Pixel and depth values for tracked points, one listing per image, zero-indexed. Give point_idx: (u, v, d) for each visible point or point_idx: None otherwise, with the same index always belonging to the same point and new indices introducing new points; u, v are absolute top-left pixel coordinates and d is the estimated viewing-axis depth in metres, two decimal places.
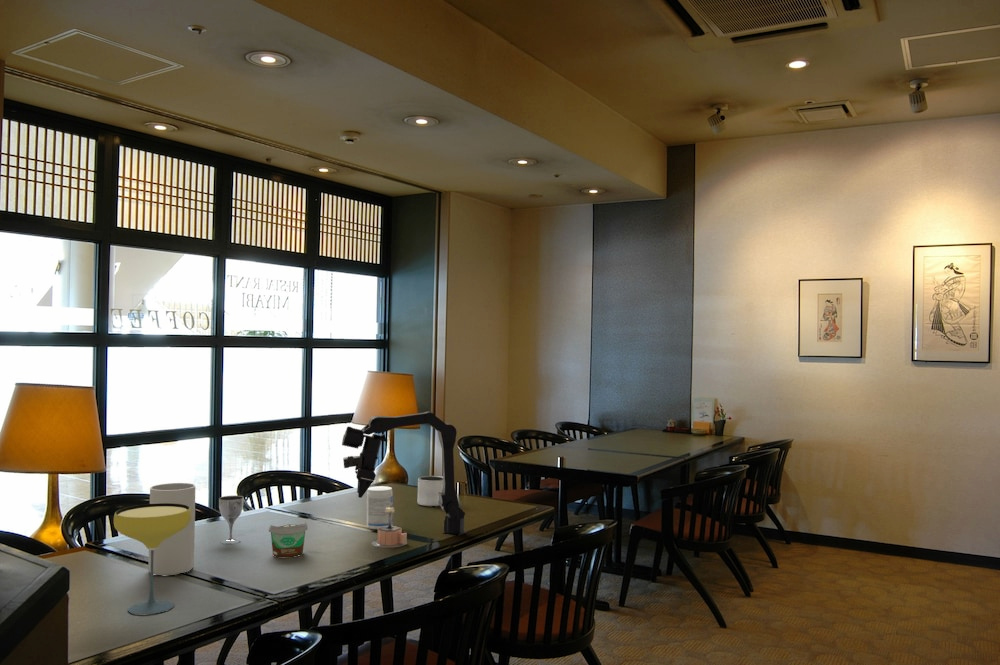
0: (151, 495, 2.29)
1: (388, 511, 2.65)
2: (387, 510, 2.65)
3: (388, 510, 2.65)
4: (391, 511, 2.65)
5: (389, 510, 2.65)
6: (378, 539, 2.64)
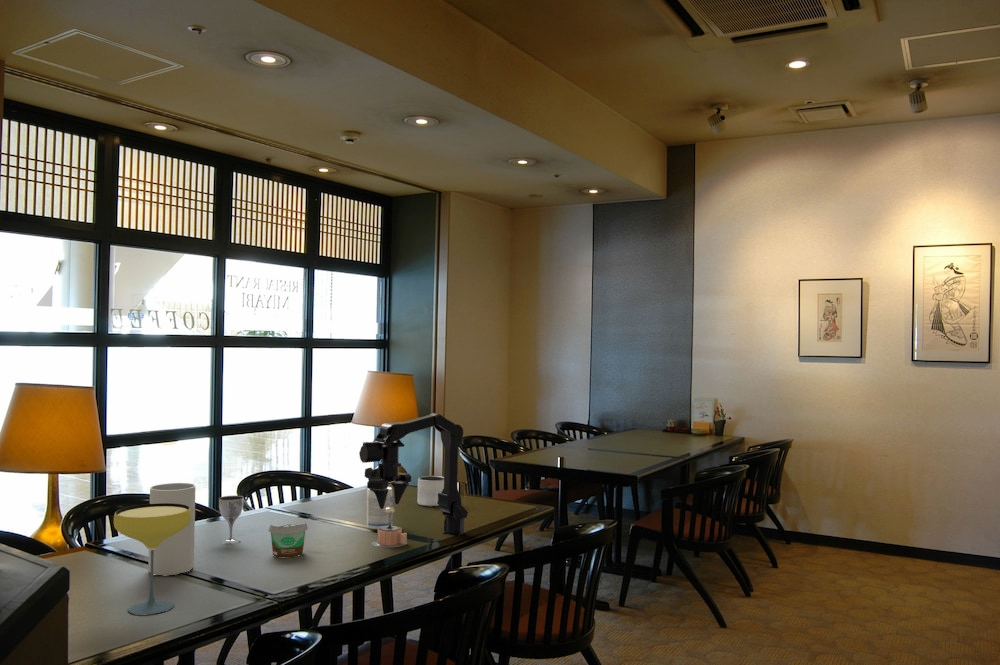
0: (151, 495, 2.29)
1: (388, 511, 2.65)
2: (387, 510, 2.65)
3: (388, 510, 2.65)
4: (391, 511, 2.65)
5: (389, 510, 2.65)
6: (378, 539, 2.64)
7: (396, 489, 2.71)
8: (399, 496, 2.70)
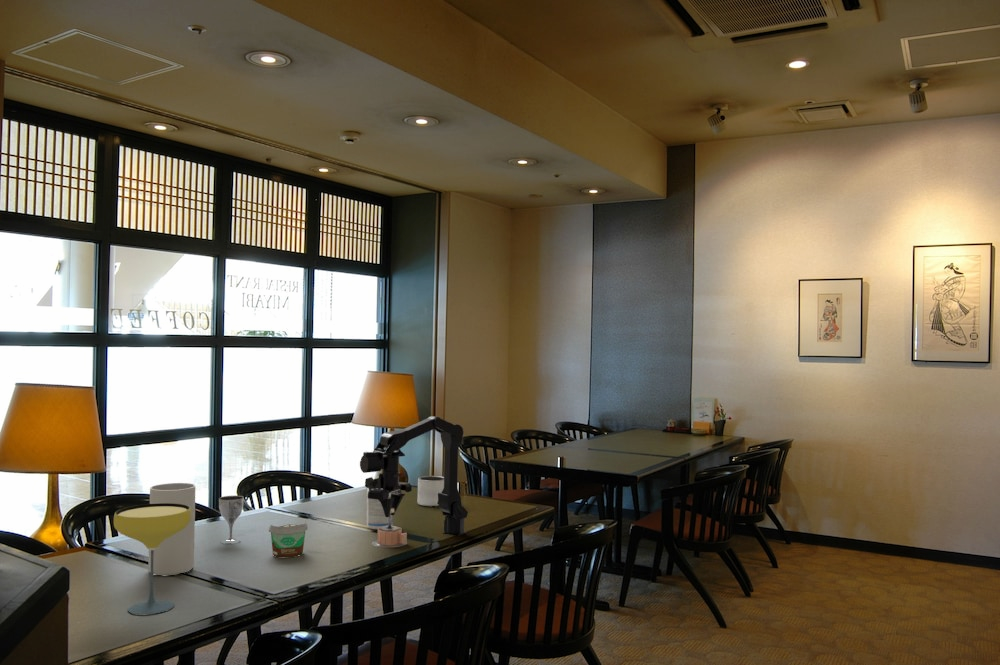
0: (151, 495, 2.29)
1: None
2: None
3: None
4: (391, 511, 2.65)
5: None
6: (378, 539, 2.64)
7: None
8: (395, 507, 2.67)
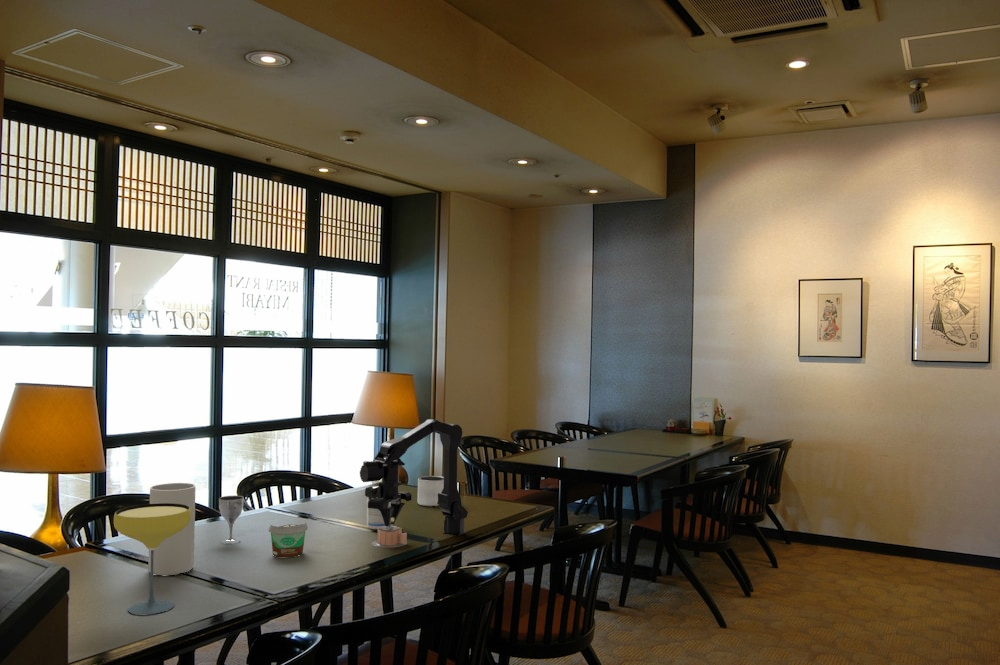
0: (151, 495, 2.29)
1: None
2: None
3: None
4: (391, 520, 2.65)
5: None
6: (378, 539, 2.64)
7: None
8: (395, 516, 2.67)
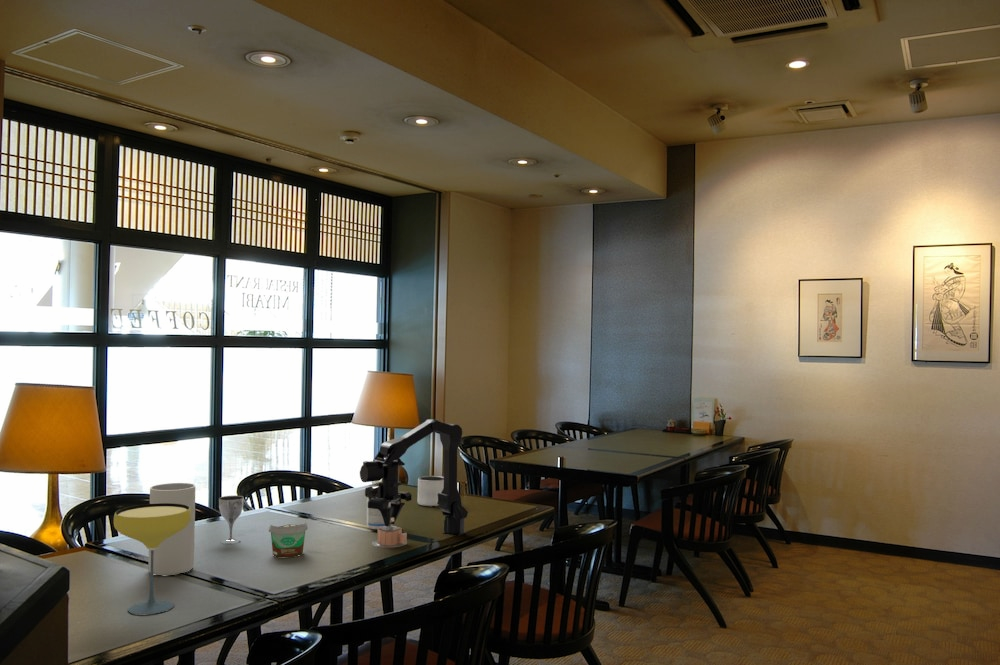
0: (151, 495, 2.29)
1: None
2: None
3: None
4: (391, 520, 2.65)
5: None
6: (378, 539, 2.64)
7: None
8: (395, 516, 2.67)
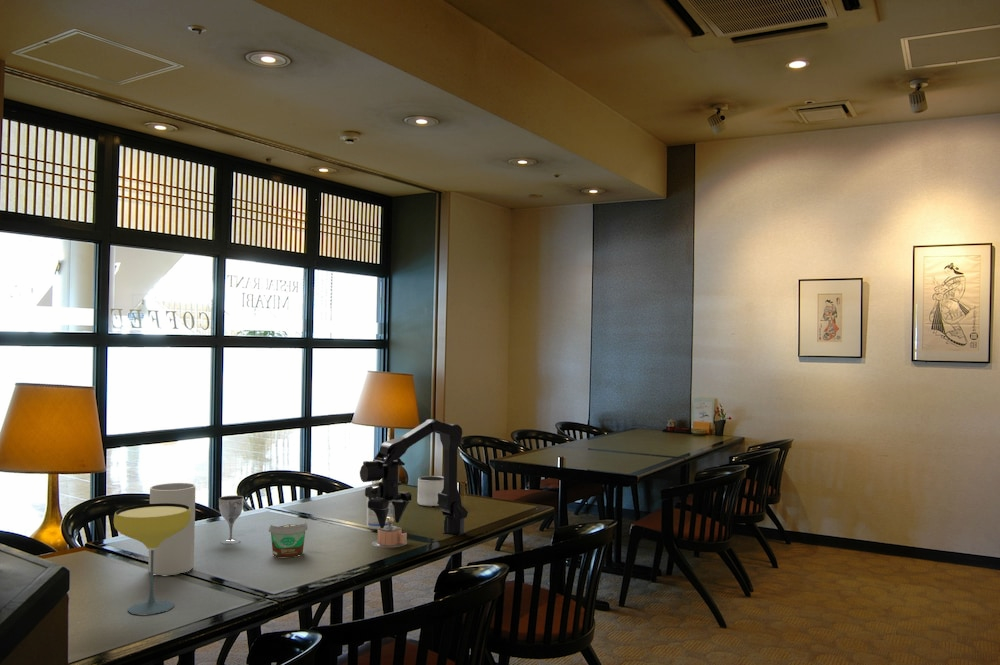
0: (151, 495, 2.29)
1: (388, 520, 2.65)
2: (387, 519, 2.65)
3: (388, 519, 2.65)
4: (391, 520, 2.65)
5: (389, 519, 2.65)
6: (378, 539, 2.64)
7: (396, 507, 2.71)
8: (399, 515, 2.70)
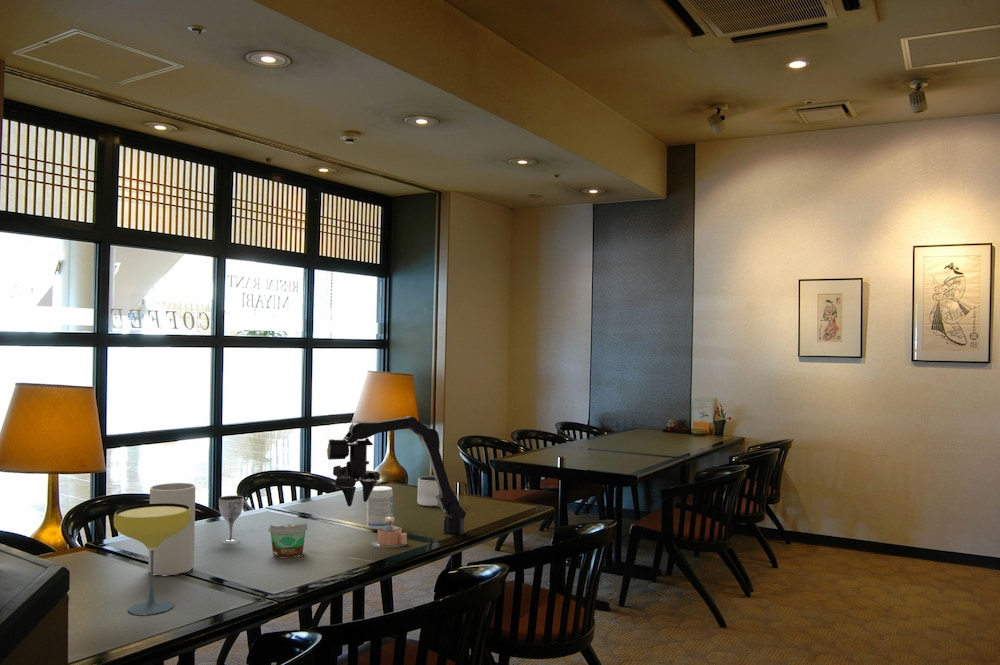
0: (151, 495, 2.29)
1: (388, 520, 2.65)
2: (387, 519, 2.65)
3: (388, 519, 2.65)
4: (391, 520, 2.65)
5: (389, 519, 2.65)
6: (378, 539, 2.64)
7: (365, 486, 2.75)
8: (367, 494, 2.74)
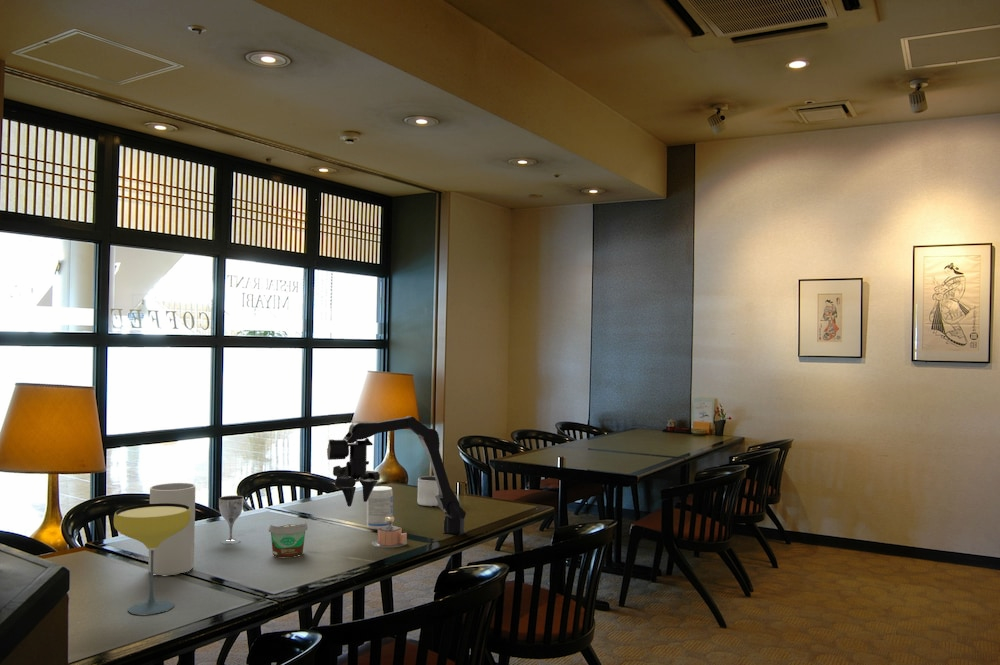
0: (151, 495, 2.29)
1: (388, 520, 2.65)
2: (387, 519, 2.65)
3: (388, 519, 2.65)
4: (391, 520, 2.65)
5: (389, 519, 2.65)
6: (378, 539, 2.64)
7: (364, 487, 2.75)
8: (367, 494, 2.74)
